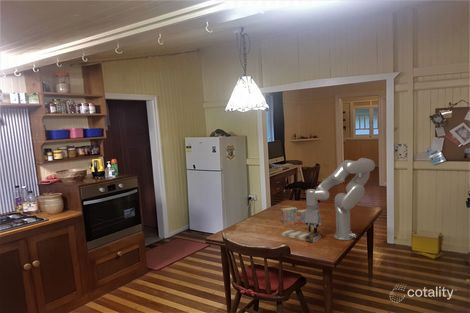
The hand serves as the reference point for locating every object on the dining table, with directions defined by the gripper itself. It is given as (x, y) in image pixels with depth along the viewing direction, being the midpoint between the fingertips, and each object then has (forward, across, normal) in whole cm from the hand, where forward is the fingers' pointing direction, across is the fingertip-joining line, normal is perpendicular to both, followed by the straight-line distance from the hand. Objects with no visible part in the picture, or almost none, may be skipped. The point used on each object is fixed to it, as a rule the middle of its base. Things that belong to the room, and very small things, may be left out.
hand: (312, 232), depth 233 cm
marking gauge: (+5, 0, 0) cm, 5 cm away
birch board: (+5, +10, 0) cm, 11 cm away
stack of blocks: (+5, +31, -30) cm, 44 cm away
